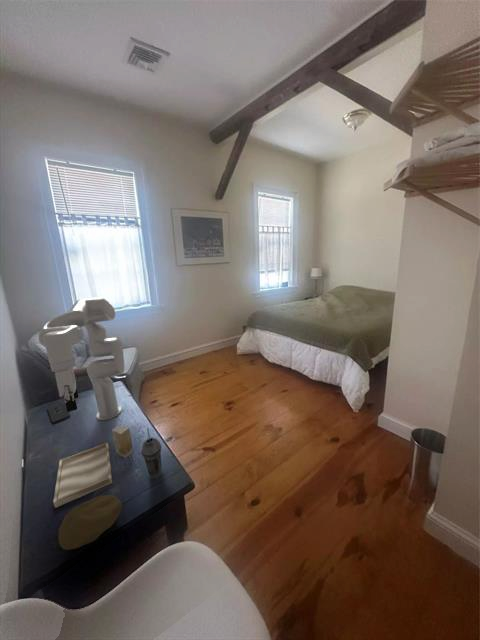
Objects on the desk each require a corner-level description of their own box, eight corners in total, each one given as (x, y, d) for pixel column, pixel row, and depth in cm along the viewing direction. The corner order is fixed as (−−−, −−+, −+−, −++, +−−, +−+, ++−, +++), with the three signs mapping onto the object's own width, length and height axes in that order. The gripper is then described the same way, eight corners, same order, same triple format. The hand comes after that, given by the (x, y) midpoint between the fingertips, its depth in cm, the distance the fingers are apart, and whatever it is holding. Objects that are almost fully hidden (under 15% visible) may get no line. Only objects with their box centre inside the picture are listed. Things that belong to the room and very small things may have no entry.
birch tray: (61, 464, 106) (59, 460, 105) (108, 447, 114) (107, 442, 113) (55, 507, 87) (53, 502, 86) (112, 482, 96) (111, 477, 95)
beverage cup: (147, 484, 94) (138, 439, 89) (144, 470, 100) (136, 427, 95) (167, 476, 97) (159, 432, 92) (163, 463, 103) (156, 421, 98)
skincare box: (115, 453, 110) (110, 429, 107) (124, 447, 114) (119, 423, 110) (125, 458, 107) (120, 434, 104) (134, 451, 111) (129, 427, 107)
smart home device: (63, 401, 152) (70, 415, 138) (64, 403, 153) (71, 417, 138) (46, 407, 147) (51, 422, 133) (47, 410, 147) (52, 425, 133)
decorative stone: (118, 501, 88) (113, 478, 85) (129, 526, 80) (123, 501, 77) (60, 538, 77) (52, 513, 75) (65, 570, 69) (56, 543, 66)
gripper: (53, 358, 99) (63, 397, 104) (47, 375, 85) (59, 419, 89) (75, 354, 103) (84, 391, 107) (73, 369, 88) (84, 412, 93)
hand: (73, 404), depth 98 cm, fingers open, 9 cm apart
